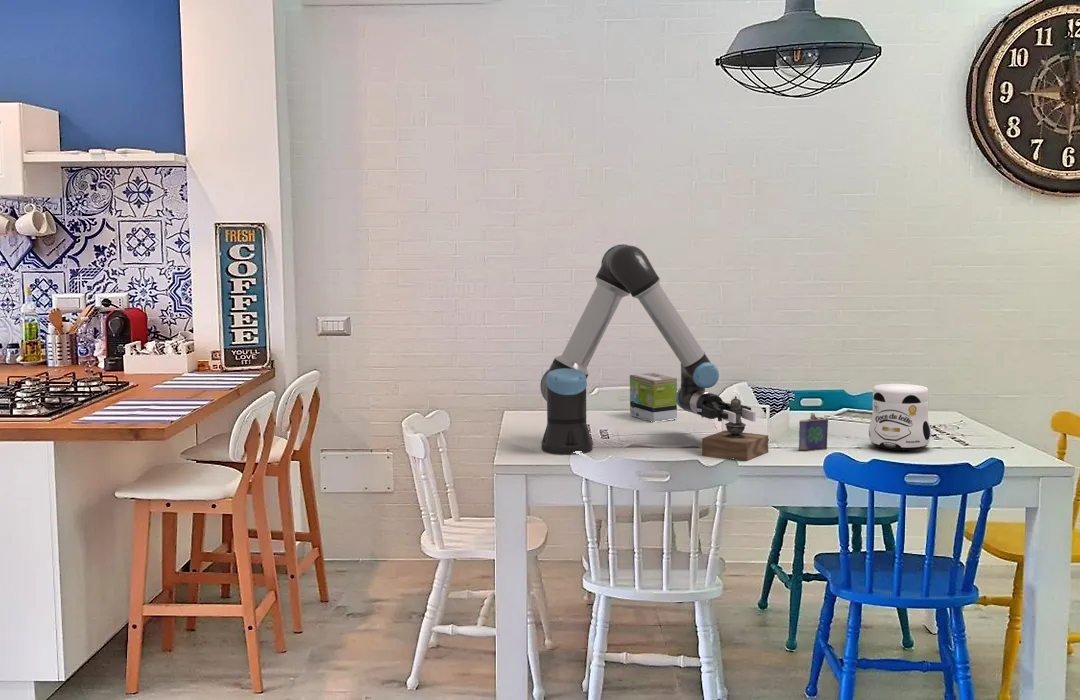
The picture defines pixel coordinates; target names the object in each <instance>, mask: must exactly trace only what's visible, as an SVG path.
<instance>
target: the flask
mask: <svg viewBox="0 0 1080 700" xmlns="http://www.w3.org/2000/svg"><path fill="white" fill-rule="evenodd" d="M828 423H829V419H828V418H826V417H822V416H816V414H815V412H811V413H810V417H809V419H808V418H806V419H801V420H799V429H798V430H799V431H798V433H799V434H798V450H799V452H800V451H801V452H808V451H810V452H811V451H816V450H817V451H820V450H827V449H828V430H829V429H828V428H829V427H828V425H829V424H828Z"/></svg>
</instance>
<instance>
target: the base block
mask: <svg viewBox="0 0 1080 700" xmlns="http://www.w3.org/2000/svg"><path fill="white" fill-rule="evenodd" d="M728 434H732V433H730V432H728V431H727V429H726V430H725V429H724V430H722V431H720V432H719V431H718V432H716V433H714V434H710V435H707V436H704V437H701V438H702V439H701V441H702V442H701V446H702V449H701V451H702V452H701V453H702V454H701V455H702V456H703V457H704V456H706V457H714V458H721V459H727V458H734V459H733V460H735V459H737V460H736V461H743V462H748V461H751V460H753V459H755V458H758V457H760V456H763V455H764V454H767V453H769V435H768V434H760V433H751V432H744V431H743V432H742V433H739V434H742V435H744V436H745V437H744V438H738V439H735V438H728V437H726V436H727V435H728Z"/></svg>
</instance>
